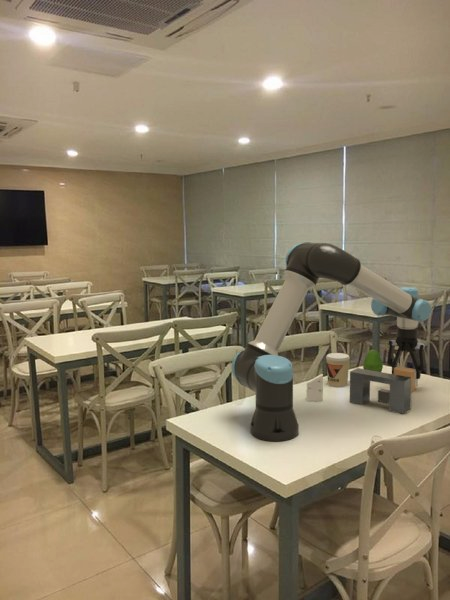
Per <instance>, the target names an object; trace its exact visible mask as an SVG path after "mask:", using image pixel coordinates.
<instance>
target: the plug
mask: <svg viewBox="0 0 450 600" xmlns="http://www.w3.org/2000/svg"><path fill="white" fill-rule="evenodd" d="M414 370H416V369H415V368H410V367H405V366H401V365H400V366H399V367H397V368H395V369H394V374H395V375H401V376H406V377H411V393H412V392H415V391H416V390H417V387H413V378H414ZM377 401H378V402H380V403H384V404H385V403H386V404H390V389H385V388H380V389H378V391H377Z"/></svg>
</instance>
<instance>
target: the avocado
mask: <svg viewBox="0 0 450 600" xmlns="http://www.w3.org/2000/svg"><path fill="white" fill-rule="evenodd" d="M362 364H363V365H362V369H366V370H371V371H377V372H382V371H383V368H384V367H383V366H384V364H383V360H382V358H381V355H380V353H379V351H377V350H376V349H370V350H369V351H368V352H367V353H366V356H365V357H364V360H363V363H362Z"/></svg>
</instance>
